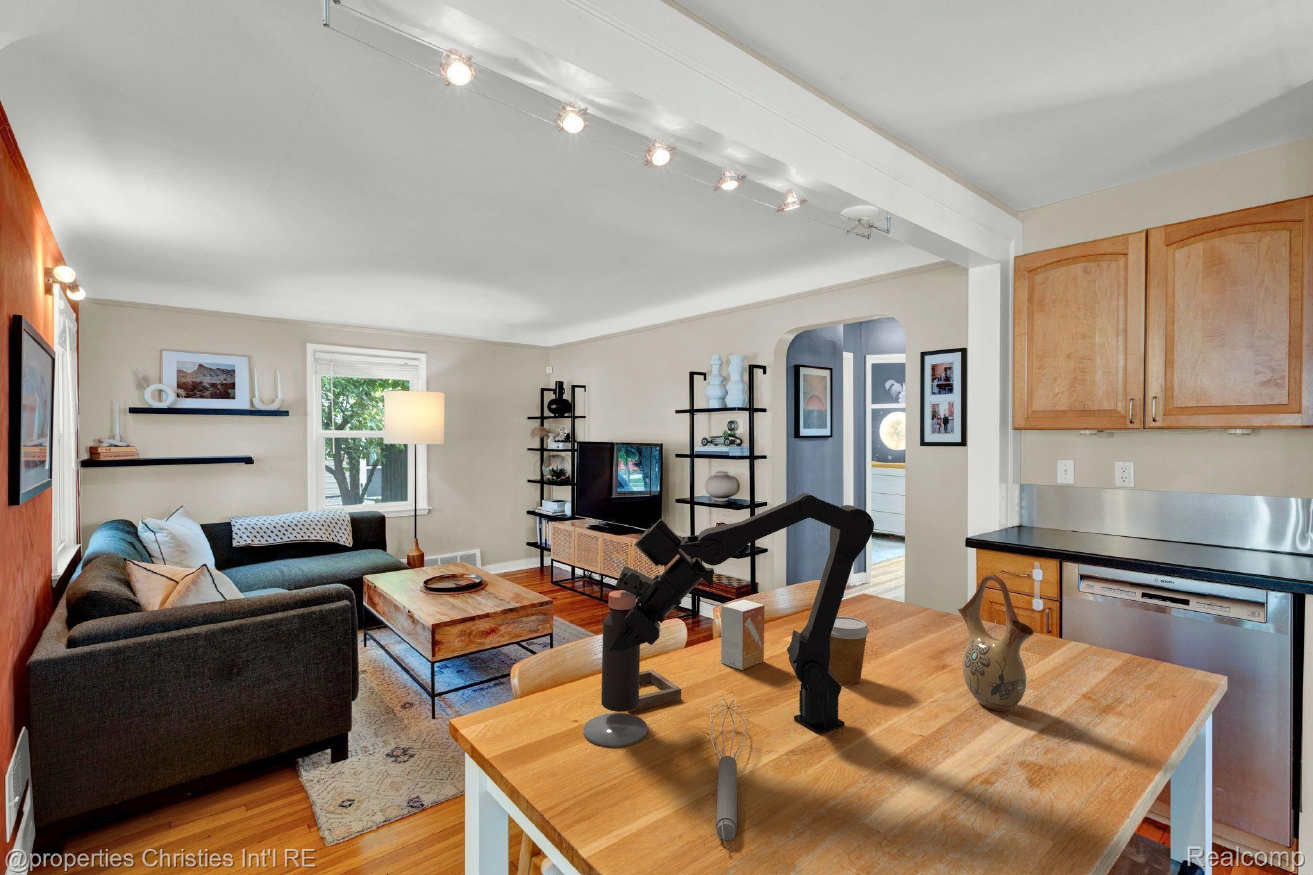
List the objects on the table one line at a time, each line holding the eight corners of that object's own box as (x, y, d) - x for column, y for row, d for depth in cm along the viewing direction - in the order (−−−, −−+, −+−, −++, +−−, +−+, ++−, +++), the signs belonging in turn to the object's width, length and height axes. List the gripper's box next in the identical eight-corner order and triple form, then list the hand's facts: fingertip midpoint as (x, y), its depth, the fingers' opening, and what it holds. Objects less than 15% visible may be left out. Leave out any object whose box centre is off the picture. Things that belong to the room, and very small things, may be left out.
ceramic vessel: (1049, 721, 112) (1051, 583, 112) (1010, 728, 109) (1011, 586, 109) (978, 686, 127) (979, 564, 127) (941, 691, 125) (942, 567, 125)
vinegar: (629, 715, 108) (632, 601, 107) (594, 708, 110) (596, 596, 110) (644, 699, 114) (646, 591, 114) (611, 693, 117) (613, 587, 116)
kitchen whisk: (701, 852, 77) (702, 801, 77) (711, 726, 111) (711, 690, 111) (751, 857, 76) (751, 805, 76) (745, 728, 110) (746, 692, 110)
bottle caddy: (681, 699, 121) (681, 688, 121) (628, 712, 115) (628, 701, 115) (652, 678, 131) (652, 669, 131) (603, 689, 125) (603, 679, 125)
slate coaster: (658, 736, 106) (658, 733, 106) (599, 753, 100) (599, 749, 100) (629, 711, 115) (629, 708, 115) (573, 724, 110) (573, 721, 110)
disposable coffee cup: (862, 671, 135) (863, 616, 135) (873, 689, 126) (873, 630, 126) (817, 669, 136) (818, 614, 136) (825, 687, 127) (825, 628, 126)
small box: (742, 671, 135) (742, 611, 135) (720, 663, 140) (720, 605, 139) (764, 661, 141) (765, 604, 140) (742, 654, 145) (743, 598, 145)
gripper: (645, 543, 121) (589, 599, 122) (638, 563, 103) (572, 629, 103) (686, 583, 121) (630, 639, 122) (686, 611, 102) (620, 677, 103)
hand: (613, 644), depth 112 cm, fingers closed on vinegar, 6 cm apart
